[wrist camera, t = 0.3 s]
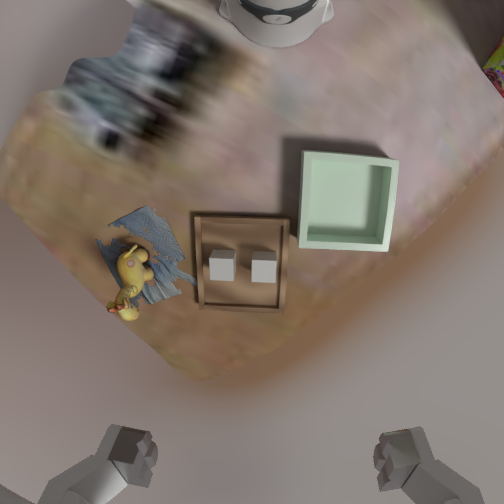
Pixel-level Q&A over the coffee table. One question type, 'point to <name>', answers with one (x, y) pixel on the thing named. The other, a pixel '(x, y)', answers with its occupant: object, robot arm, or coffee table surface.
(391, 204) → the green bin
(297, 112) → the coffee table surface
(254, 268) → the stone cube
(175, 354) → the coffee table surface
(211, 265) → the stone cube
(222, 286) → the walnut tray
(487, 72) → the snack box
